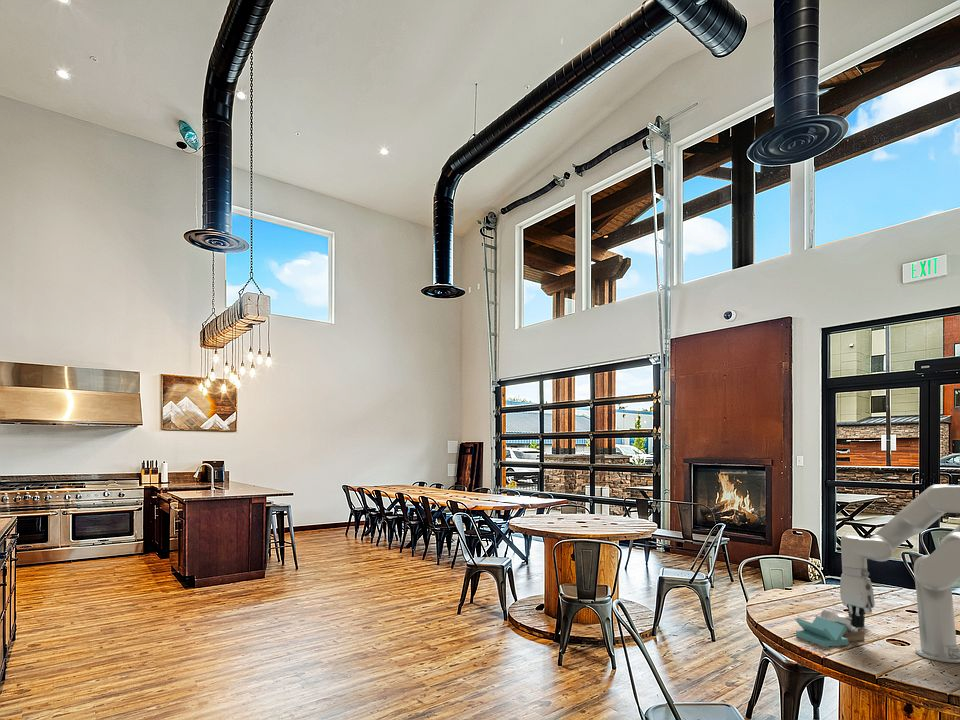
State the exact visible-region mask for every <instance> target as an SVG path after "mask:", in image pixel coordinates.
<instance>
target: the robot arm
mask: <svg viewBox="0 0 960 720" xmlns="http://www.w3.org/2000/svg"><path fill="white" fill-rule="evenodd" d="M946 513H950V514H960V485H944V484H940V483H939V484H938V483H937V484H936V483H935V484H932V485H930V486H928V487H927V488H926V489H924V491H922V492H921V493H920V494H919V495H917V496H916V497H915V498H914V499H913V500H912V501H911V502H910V503H908V504H907V505H906V506H905V507H903V508H902V509H901V510H900V511H899V512H898V513H897V514H895V515H894V517H892V519H890V520H889V521H888V522H887V523H885V524H884V525H883V526H882V527H881V528H880V529H879V530H877V531H876V532H875V533H874V534H873V535H872V536H870V537H869V538H865V537H862V536H859V535H855V534H854V535H853V534H846V535H845V534H844V535H841V538H840V552H841V571H842V573H841V575H840V583H839V594H840V596H839V597H840V601H841V602H842V603H841V604H842V606H845V608H847V610H848V609H849V611H850V614H852V626H853V627H856V628H864V627H865V625H864V626H863V616H864V615H865V616H866V614H871V613H873V610H872V609H873V608H875V602H876V601H875V595H874V594H875V593H874V588H873V584H872V581H871V578H869V576H870V572H869V571H868V560H871V561H876V562H887V561H889V560H890V559H891V558H892V556H893V553H894V551H895V550H896V549H897V548H899V547H900V546H901V545H902V544H903V543H905V542H906V541H907V540H908V539H910V538H912V537H914V536H917V535H920V534H921V533H923V532H924V531H926V530H927V529H928V528H929V527H930V526H931V525H933V524H934V523H936V521H938V520H939V519H940V518H941V517H942V516H944V514H946ZM913 576H914V583H915V593H916V606H917V616H918V617H917V618H918V629H919V630H918V631H919V639H920V641H919V642H920V645H919V646H916V647H915V649H914V650H915V651H914V652H915V653H916V654H917V655H919V656H921V657H923V658H925V659H929V660H933V661H937V662H943V663H950V664H951V663H952V664H953V663H954V664H956V663H957V664H958V663H960V645H958V644H957V642H958V641H957V632H956V631H957V630H956V623H955V622H956V621H955V614H954V613H955V611H954V610H955V609H954V601H953V599H954V598H953V590H952V586H953V585H954V584H956V582H957V581H959V580H960V524H959V525H958V526H957V527H955V528H954V529H953V530H952V531H951V532H949V533H948V534H946V535H945V536H944V537H942V539H940V543H939V546H938V547H937V548H935V549H934V551H932V553H930V554H925V555H922V556H919V557H918V558H917V559H915V562H914V564H913ZM860 609H861V610H860Z"/></svg>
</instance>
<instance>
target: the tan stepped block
mask: <svg viewBox="0 0 960 720" xmlns="http://www.w3.org/2000/svg"><path fill="white" fill-rule="evenodd" d="M862 628H863V627H862ZM862 628H859V629H858V631H856V632H851V631H848V629H847V630H846V631H845V633H844V634H843V636H842V637H844V638H847V639H848V643H850V642H858V641H857V640H860V641H865V631H864V630H863V629H862Z"/></svg>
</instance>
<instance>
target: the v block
mask: <svg viewBox="0 0 960 720" xmlns="http://www.w3.org/2000/svg"><path fill="white" fill-rule="evenodd" d="M795 622H796V623H797V624H798V625H799V626H800V627H801V628H802V629H799V630H795V636H796V637H797V638H799V639H801V638H802V640H804V641H806V640H807V641H806V642H809V641H810V642H809V643H811V642H813V643H812V644H814V643H816V644H818V645H817V646H819V645H821V646H823V647H822V648H824V647H826V648H830V647H829V646H836V647H844V646H843V645H846V646H849V643H850V642H848V639H847V638H844V637H842V636H843V634H844V633H845V631H846V630H847V628H846V627H845V626H843V625H840V624H837V623H834V622H832V621H829V620H826V619H823V618H821V616H816V617H815V618H814V620H813V621H812V622H810V621H807V620H806V619H805V620H804V619H802V618H799V617H797V618H796V619H795ZM816 644H815V645H816ZM841 645H842V646H841ZM821 646H820V647H821Z"/></svg>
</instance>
